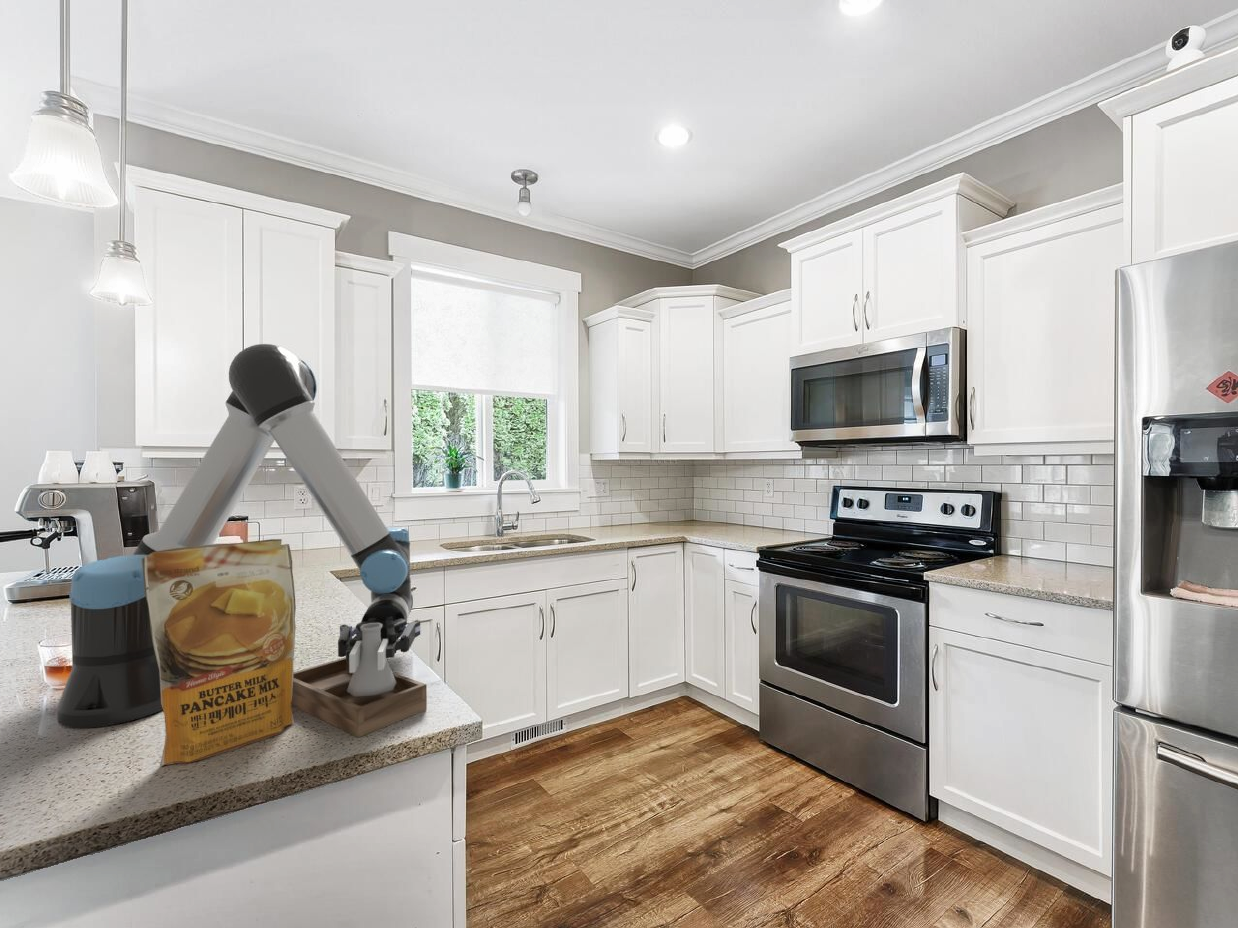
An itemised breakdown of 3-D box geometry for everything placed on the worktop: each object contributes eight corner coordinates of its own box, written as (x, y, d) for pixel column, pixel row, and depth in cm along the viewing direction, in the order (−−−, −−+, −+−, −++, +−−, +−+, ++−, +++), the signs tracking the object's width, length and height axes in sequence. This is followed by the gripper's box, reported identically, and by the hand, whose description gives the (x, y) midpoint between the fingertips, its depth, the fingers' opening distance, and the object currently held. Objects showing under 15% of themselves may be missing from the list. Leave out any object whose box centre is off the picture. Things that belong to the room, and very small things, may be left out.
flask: (348, 701, 90) (347, 634, 89) (345, 684, 96) (344, 622, 96) (399, 692, 93) (399, 628, 93) (393, 676, 99) (393, 616, 99)
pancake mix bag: (138, 760, 80) (135, 549, 80) (291, 712, 95) (289, 534, 94) (151, 777, 76) (148, 555, 75) (309, 725, 90) (307, 538, 90)
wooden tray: (426, 709, 96) (426, 684, 96) (358, 737, 86) (358, 709, 86) (348, 678, 109) (348, 656, 109) (281, 699, 99) (281, 675, 99)
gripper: (431, 635, 114) (424, 682, 91) (338, 642, 110) (306, 692, 87) (431, 596, 114) (424, 632, 91) (337, 601, 110) (305, 641, 87)
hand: (366, 662), depth 89 cm, fingers closed on flask, 3 cm apart
